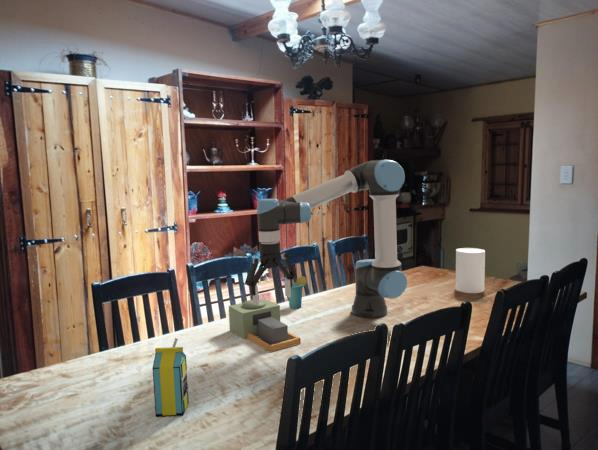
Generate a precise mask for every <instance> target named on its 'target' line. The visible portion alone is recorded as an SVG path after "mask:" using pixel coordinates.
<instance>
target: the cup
mask: <svg viewBox="0 0 598 450" xmlns="http://www.w3.org/2000/svg"><path fill="white" fill-rule="evenodd" d="M285 279H287V278H286V276H284V277H282V278H280V279H279V281H280V282H281V281H285ZM307 283H308V279H307V277H306V276H303V275H300V276H298V277H297V278H296V281H295V282H292V287H291V297H287V298H288V307H289V309H291V310H299V309H301V308H302V302H303V301H302V300H303V299H302V298H303V287H305V286H306V285H307Z"/></svg>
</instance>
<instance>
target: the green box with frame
mask: <svg viewBox="0 0 598 450" xmlns="http://www.w3.org/2000/svg"><path fill="white" fill-rule="evenodd" d="M258 301H259V304H258V305H256V304H254V303H253V299H249V300H244V301H243V302H242V303H241V302H240V303H236V304H231V305H228V323H229V332H231V333H233V334H235V335H236V336H238V337H239V338H241V339H243V340H246V339H247V340H249V341H250V342H252V343H254V344H255V345H257V346H259V348H261V349H263V350H265V351H267V352H268V353H272V352H275V351H278V350H279V351H280V350H282V349H285V348H289V347H293V346H296V345H301V342H302V340H301V337H299V336H297V335H295V334H293V333H292V332H289V331H288V340H287V341H283V342H280V343H276V344H272V345H269V344H268V343H266V342H264V341H263V340H261V339H260V338H258V320H259V319H264V318H268V317H273V318H275V319H277V320H278V321H280V322H281V305H280V304H278V303H275V302H273V301H271V300H269V299H266V298H261V299H258Z"/></svg>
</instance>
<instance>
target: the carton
mask: <svg viewBox="0 0 598 450" xmlns="http://www.w3.org/2000/svg"><path fill="white" fill-rule="evenodd" d="M178 340H179V339H178V338H176V337H175V338H174V341H173V344H172V347H171V346H170V347H156V348H155V349H154V350H155V351H154V353H155V354H154V358H153V359H154V360H153V363H152V381H153V397H154V412H155V418H167V417H166V416H169V417H184V415H185V413H186V410H187V408H186V407H188V405H189V386H188V385H189V384H188V367H187V355H186V354H185V352H184V347H183V346H176V345H177V343H178ZM169 417H168V418H169Z"/></svg>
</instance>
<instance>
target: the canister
mask: <svg viewBox="0 0 598 450" xmlns="http://www.w3.org/2000/svg"><path fill="white" fill-rule="evenodd" d="M485 267H486V250H485V249H482V248H477V247H462V248H461V247H460V248H456V249H455V290H456V291H457V292H459V293H465V294H479V293H483V292H485V277H486V272H485V271H486V268H485Z"/></svg>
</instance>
